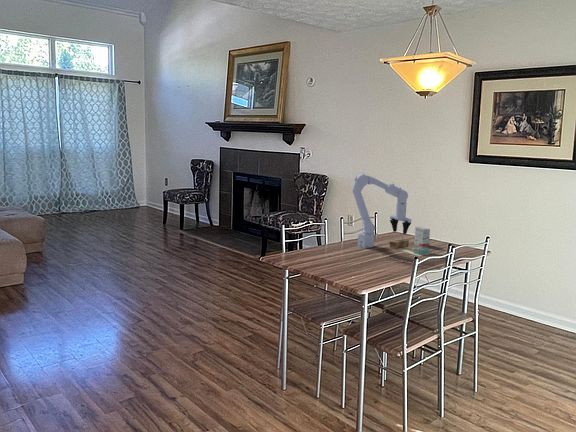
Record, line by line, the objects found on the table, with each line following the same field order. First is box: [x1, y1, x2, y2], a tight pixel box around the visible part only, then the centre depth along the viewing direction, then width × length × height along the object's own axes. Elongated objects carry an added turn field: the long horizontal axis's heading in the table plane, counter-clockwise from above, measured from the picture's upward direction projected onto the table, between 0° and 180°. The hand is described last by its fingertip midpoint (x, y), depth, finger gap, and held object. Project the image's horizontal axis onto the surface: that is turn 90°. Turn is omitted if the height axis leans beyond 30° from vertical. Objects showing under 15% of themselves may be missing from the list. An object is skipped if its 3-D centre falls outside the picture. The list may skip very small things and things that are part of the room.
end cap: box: [413, 247, 430, 256], centre depth 284 cm, size 8×4×3 cm, turn 126°
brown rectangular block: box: [389, 238, 409, 250], centre depth 298 cm, size 12×4×4 cm, turn 126°
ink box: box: [413, 226, 431, 248], centre depth 305 cm, size 9×5×12 cm, turn 22°
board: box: [388, 246, 433, 257], centre depth 291 cm, size 13×23×1 cm, turn 36°
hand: (399, 232), depth 299 cm, fingers open, 7 cm apart
